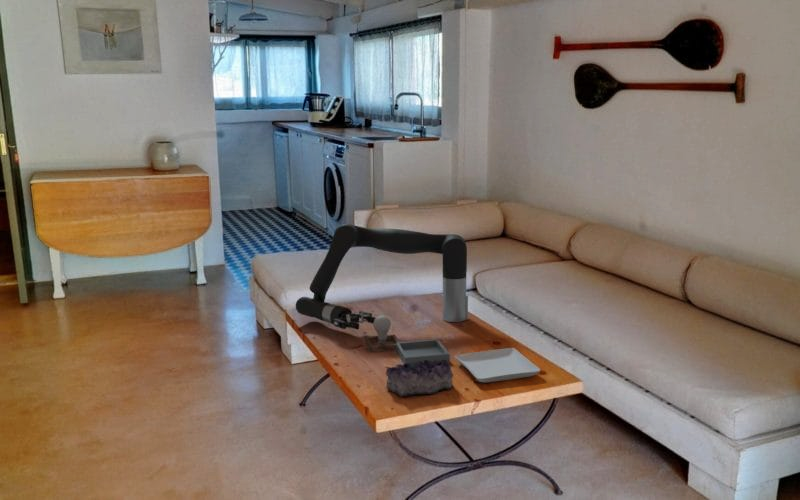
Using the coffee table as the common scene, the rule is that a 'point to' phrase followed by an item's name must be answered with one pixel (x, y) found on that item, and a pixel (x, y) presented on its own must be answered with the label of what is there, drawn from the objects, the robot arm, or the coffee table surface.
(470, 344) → the coffee table surface
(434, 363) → the geode
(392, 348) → the square wooden frame
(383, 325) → the lightbulb
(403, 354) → the tray
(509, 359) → the salad plate
